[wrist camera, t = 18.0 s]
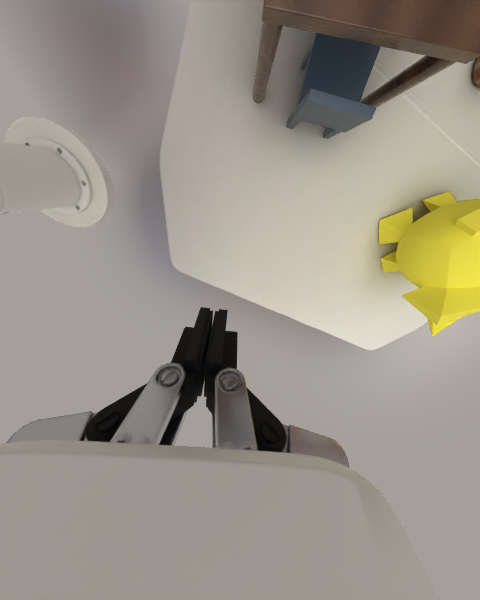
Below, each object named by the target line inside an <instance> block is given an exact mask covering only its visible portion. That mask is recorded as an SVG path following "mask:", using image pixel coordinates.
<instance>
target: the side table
mask: <svg viewBox="0 0 480 600" xmlns="http://www.w3.org/2000/svg"><path fill="white" fill-rule="evenodd" d="M262 21H263V22H262V30H261V37H260V45H259V52H258V60H257V68H256V75H255V83H254V90H253V99H254V101H255V102H256V103H260V102H262V100H263V99H264V95H265V91H266V87H267V84H268V80H269V76H270V72H271V69H272V65H273V61H274V57H275V53H276V50H277V46H278V42H279V38H280V34H281V31H282V27H283V26H287V27H292V28H297V29H301V30H306V31H311V32H316V33H321V34H325V35H330V36H335V37H340V38H345V39H349V40H354V41H359V42H364V43H369V44H373V45H378V46H383V47H388V48H393V49H397V50H402V51H407V52H412V53H417V54H421V55H426V56H424V57H423V58H421V59H420V60H419V61H417V62H416V63H414V64H413V65H411V66H410V67H408V68H407V69H406V70H404V71H403V72H401V73H400V74H398V75H397V76H395V77H394V78H393V79H391V80H390V81H388V82H387V83H385V84H384V85H383V86H381V87H380V88H378V89H377V90H375V91H374V92H372V93H371V94H370V95H368V96H367V97H365V98H364V99H362V100H361V101H359V102H360V103H363V104H366V105H370V106H373V107H378V106H380V105H381V104H383V103H385V102H387V101H388V100H390V99H392V98H394V97H396V96H397V95H399V94H401V93H403V92H404V91H406V90H408V89H410V88H411V87H413V86H415V85H417V84H419V83H420V82H422V81H424V80H426V79H427V78H429V77H431V76H433V75H435V74H436V73H438V72H440V71H442V70H443V69H445V68H447V67H449V66H450V65H452V64H454V63H456V62H460V63H465V64H466V63H468V62H470V61H472V60H474V59H475V58H477V57H479V56H480V0H264V5H263V14H262Z"/></svg>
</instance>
